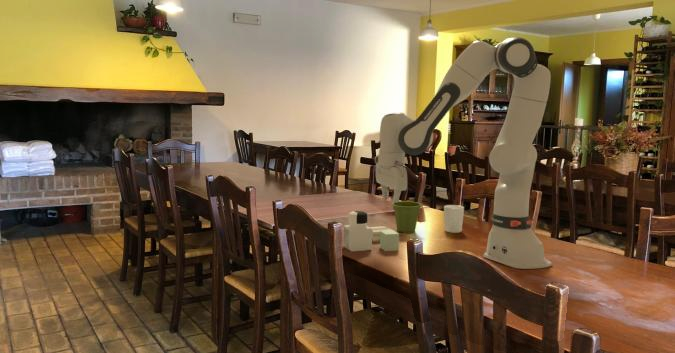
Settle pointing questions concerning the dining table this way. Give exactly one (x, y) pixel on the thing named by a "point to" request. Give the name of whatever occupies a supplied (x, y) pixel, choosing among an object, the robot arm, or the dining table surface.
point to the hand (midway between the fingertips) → (390, 199)
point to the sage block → (389, 240)
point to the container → (357, 232)
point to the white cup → (453, 218)
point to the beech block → (378, 232)
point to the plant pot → (406, 215)
